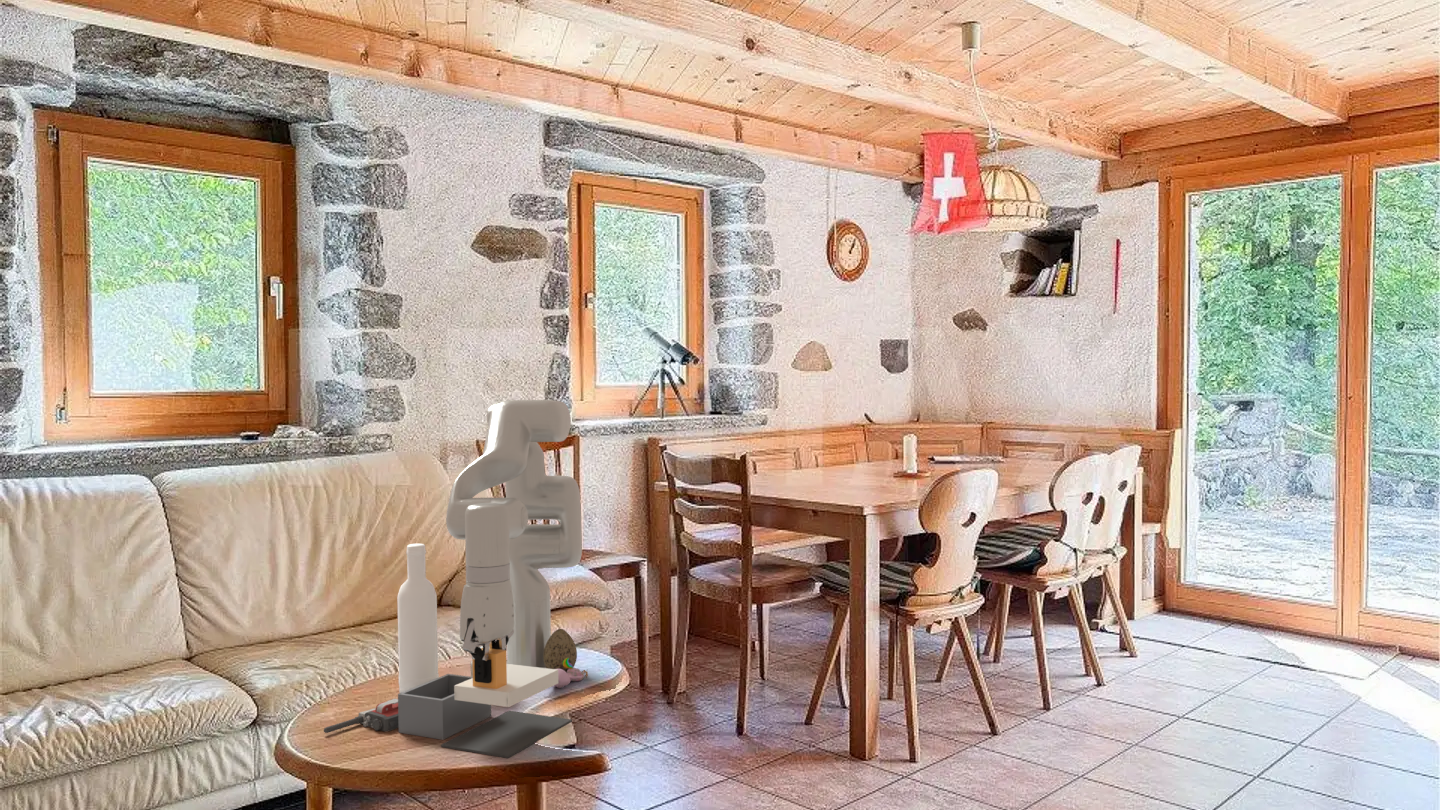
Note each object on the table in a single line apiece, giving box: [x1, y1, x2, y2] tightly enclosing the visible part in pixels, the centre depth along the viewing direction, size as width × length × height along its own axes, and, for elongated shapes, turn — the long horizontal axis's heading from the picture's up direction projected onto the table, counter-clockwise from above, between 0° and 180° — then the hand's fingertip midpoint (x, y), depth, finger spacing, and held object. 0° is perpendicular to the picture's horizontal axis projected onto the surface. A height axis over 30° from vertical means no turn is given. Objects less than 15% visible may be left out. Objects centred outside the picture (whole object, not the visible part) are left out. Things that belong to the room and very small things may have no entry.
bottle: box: [397, 543, 440, 694], centre depth 215 cm, size 8×8×30 cm
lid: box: [454, 648, 558, 708], centre depth 187 cm, size 15×11×8 cm
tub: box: [397, 673, 492, 741], centre depth 194 cm, size 14×10×7 cm
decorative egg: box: [543, 628, 578, 673], centre depth 224 cm, size 7×7×10 cm
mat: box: [440, 710, 573, 759], centre depth 188 cm, size 20×14×1 cm
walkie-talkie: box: [323, 698, 399, 734], centre depth 194 cm, size 9×4×20 cm
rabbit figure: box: [553, 658, 589, 689], centre depth 217 cm, size 6×6×15 cm
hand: (489, 678), depth 183 cm, fingers closed on lid, 3 cm apart
